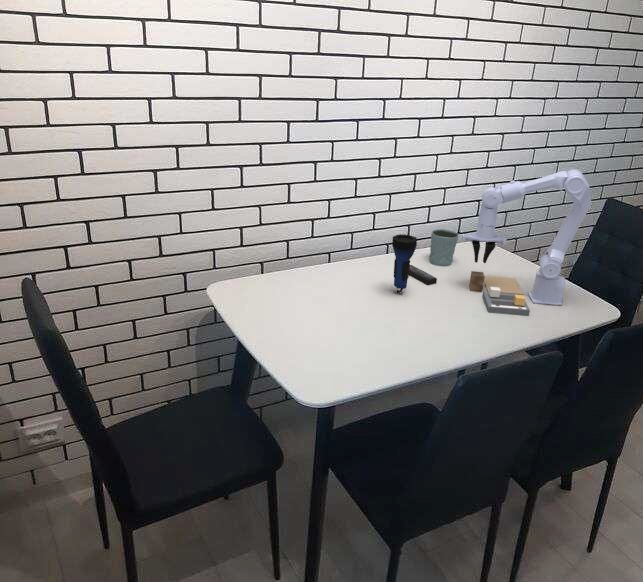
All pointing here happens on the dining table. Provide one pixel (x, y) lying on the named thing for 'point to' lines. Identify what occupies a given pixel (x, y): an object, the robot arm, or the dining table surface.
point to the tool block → (476, 281)
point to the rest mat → (503, 284)
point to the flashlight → (402, 258)
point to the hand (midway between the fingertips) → (480, 261)
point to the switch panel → (504, 304)
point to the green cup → (442, 247)
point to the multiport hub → (422, 276)
